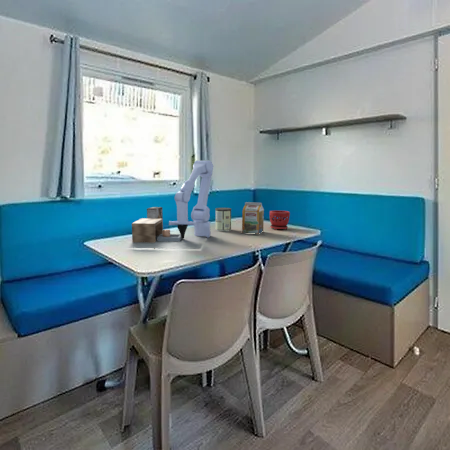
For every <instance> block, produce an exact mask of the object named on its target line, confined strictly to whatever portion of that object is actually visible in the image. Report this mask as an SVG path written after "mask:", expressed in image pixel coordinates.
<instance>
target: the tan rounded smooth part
mask: <svg viewBox="0 0 450 450" xmlns="http://www.w3.org/2000/svg"><path fill="white" fill-rule="evenodd" d="M170 234H171V229H163V237H170Z"/></svg>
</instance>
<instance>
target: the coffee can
mask: <svg viewBox="0 0 450 450" xmlns="http://www.w3.org/2000/svg"><path fill="white" fill-rule="evenodd" d="M229 230H230V231H232V208H230V207H216V208H215V231H218V232H230V231H229Z"/></svg>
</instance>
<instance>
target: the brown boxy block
mask: <svg viewBox="0 0 450 450" xmlns="http://www.w3.org/2000/svg"><path fill="white" fill-rule="evenodd" d="M163 220H164V218H163V219H154V218H147V217H146V218H145V217H144V218H143V217H142V218H139V219H138V220H135V221H134V222H132V223H131V235H132V238H131V239H132V240H131V242H132V243H151V244H152V243H154V244H155V243H157V240H156V238H157V237H158V236H159V235H160V234H163V230H164V223H163V222H164V221H163Z"/></svg>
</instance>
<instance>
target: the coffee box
mask: <svg viewBox="0 0 450 450" xmlns="http://www.w3.org/2000/svg"><path fill="white" fill-rule="evenodd" d="M146 218H154V219H163V220H164V217H163V207H161V206H159V207H158V206H152V207H148V208H146Z"/></svg>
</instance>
